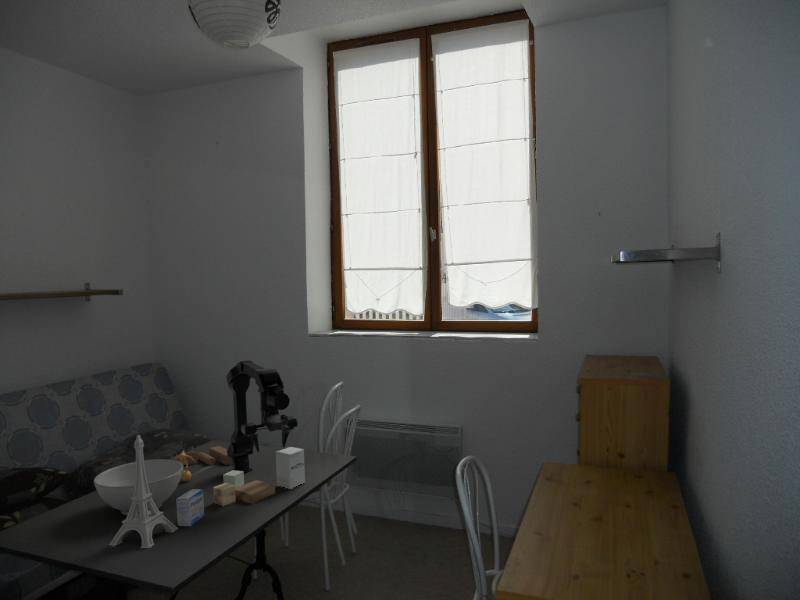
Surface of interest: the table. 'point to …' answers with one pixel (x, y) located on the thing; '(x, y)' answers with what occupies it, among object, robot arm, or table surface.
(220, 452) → the wooden block set
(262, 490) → the walnut block
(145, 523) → the eiffel tower
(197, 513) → the medicine box
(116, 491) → the decorative bowl
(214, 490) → the oak block
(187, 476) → the figurine
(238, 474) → the sage cube
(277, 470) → the supplement box
